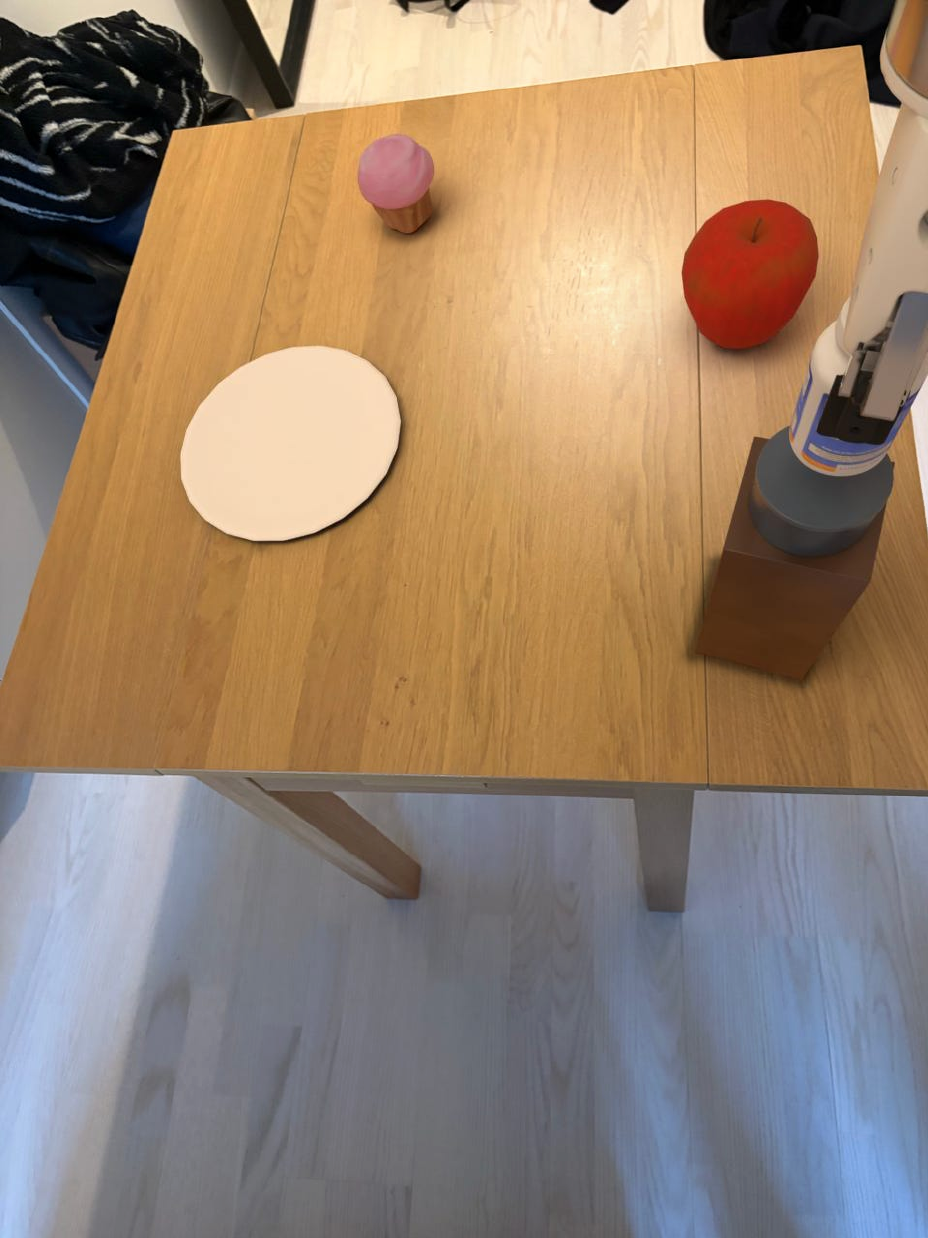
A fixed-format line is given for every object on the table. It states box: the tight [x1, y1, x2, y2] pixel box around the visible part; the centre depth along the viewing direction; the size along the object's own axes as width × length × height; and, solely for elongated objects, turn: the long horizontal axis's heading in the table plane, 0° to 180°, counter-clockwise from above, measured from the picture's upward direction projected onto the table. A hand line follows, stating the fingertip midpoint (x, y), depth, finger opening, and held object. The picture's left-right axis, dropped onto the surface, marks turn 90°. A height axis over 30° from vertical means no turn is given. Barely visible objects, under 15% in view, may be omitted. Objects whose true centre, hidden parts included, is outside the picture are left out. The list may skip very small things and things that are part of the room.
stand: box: [694, 435, 896, 681], centre depth 61 cm, size 9×9×20 cm
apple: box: [681, 198, 819, 350], centre depth 75 cm, size 12×12×14 cm
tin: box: [748, 425, 895, 557], centre depth 50 cm, size 8×8×4 cm
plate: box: [179, 345, 402, 542], centre depth 86 cm, size 25×25×1 cm
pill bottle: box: [789, 295, 928, 476], centre depth 41 cm, size 5×5×10 cm
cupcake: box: [357, 133, 435, 234], centre depth 92 cm, size 9×9×10 cm
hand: (861, 383), depth 41 cm, fingers closed on pill bottle, 5 cm apart
